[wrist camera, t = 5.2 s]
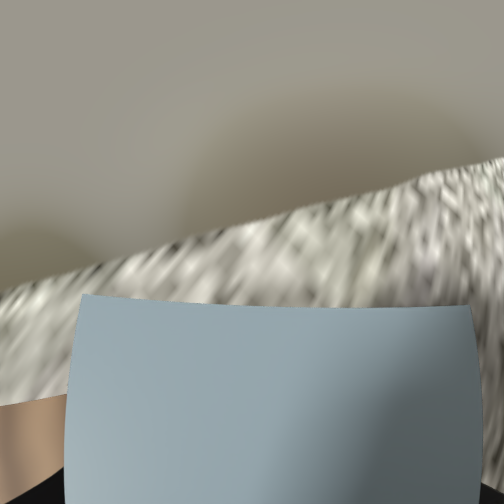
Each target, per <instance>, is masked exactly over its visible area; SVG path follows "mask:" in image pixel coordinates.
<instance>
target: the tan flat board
mask: <svg viewBox="0 0 504 504" xmlns="http://www.w3.org/2000/svg"><path fill="white" fill-rule="evenodd" d="M66 402H67V394H64V395H60V396H55V397H50V398H45V399H40V400H34V401H29V402H23V403H18V404H12V405H5V406H0V504H5V503H7V502H9V501H10V500H12V499H14V498H16V497H17V496H19V495H21V494H23V493H24V492H26V491H28V490H29V489H31V488H33V487H34V486H36V485H38V484H39V483H41V482H42V481H44V480H46V479H47V478H49V477H50V476H52V475H53V474H54V473H56V472H57V471H58V470H59V469H61V468H62V467H63V466H64V436H65V416H66Z"/></svg>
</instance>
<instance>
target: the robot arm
mask: <svg viewBox="0 0 504 504" xmlns="http://www.w3.org/2000/svg"><path fill="white" fill-rule="evenodd" d="M5 504H65V488H64V466H63V467H62V468H61V469H59V470H58V471H57V472H56V473H54V474H53V475H52V476H50V477H49V478H47V479H46V480H44V481H42V482H41V483H39V484H38V485H36V486H34V487H33V488H31V489H29V490H28V491H26V492H24V493H23V494H21V495H19V496H17V497H16V498H14V499H12V500H10V501H9V502H7V503H5ZM479 504H504V494H503V493H501V492H499V491H497V490H495V489H493V488H491V487H489V486H487V485H485V484H483V483H482V482H481V486H480V496H479Z"/></svg>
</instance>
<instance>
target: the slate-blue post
mask: <svg viewBox="0 0 504 504" xmlns="http://www.w3.org/2000/svg"><path fill="white" fill-rule="evenodd" d="M482 456H483V410H482V391H481V378H480V368H479V359H478V351H477V343H476V337H475V330H474V324H473V318H472V313H471V308H470V305H457V306H434V307H398V308H302V307H265V306H239V305H218V304H200V303H184V302H169V301H156V300H143V299H131V298H120V297H109V296H99V295H89V294H82V299H81V303H80V309H79V314H78V319H77V325H76V330H75V337H74V343H73V349H72V357H71V364H70V372H69V381H68V391H67V402H66V416H65V436H64V488H65V504H479V496H480V486H481V474H482Z"/></svg>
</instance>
